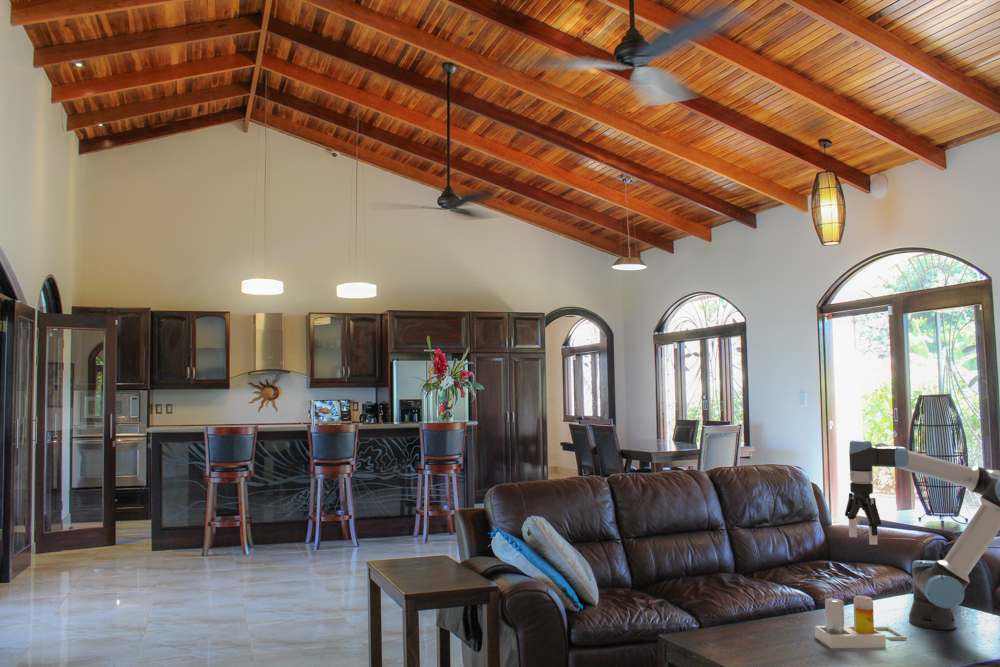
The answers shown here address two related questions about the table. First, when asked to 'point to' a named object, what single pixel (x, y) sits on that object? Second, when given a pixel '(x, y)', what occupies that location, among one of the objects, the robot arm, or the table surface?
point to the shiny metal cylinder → (834, 616)
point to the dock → (850, 638)
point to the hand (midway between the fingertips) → (863, 540)
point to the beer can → (863, 615)
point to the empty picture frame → (901, 637)
